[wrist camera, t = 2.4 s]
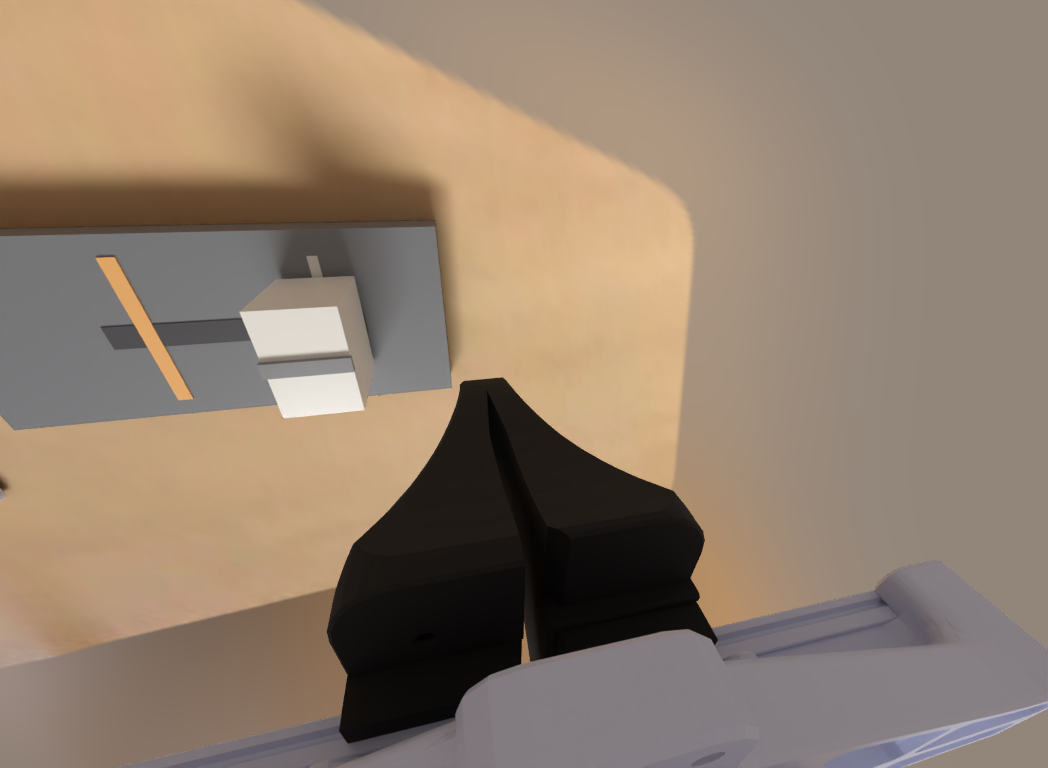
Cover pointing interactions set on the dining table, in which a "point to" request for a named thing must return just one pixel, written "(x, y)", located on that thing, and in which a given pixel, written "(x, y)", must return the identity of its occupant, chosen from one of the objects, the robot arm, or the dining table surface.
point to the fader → (312, 344)
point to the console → (196, 313)
